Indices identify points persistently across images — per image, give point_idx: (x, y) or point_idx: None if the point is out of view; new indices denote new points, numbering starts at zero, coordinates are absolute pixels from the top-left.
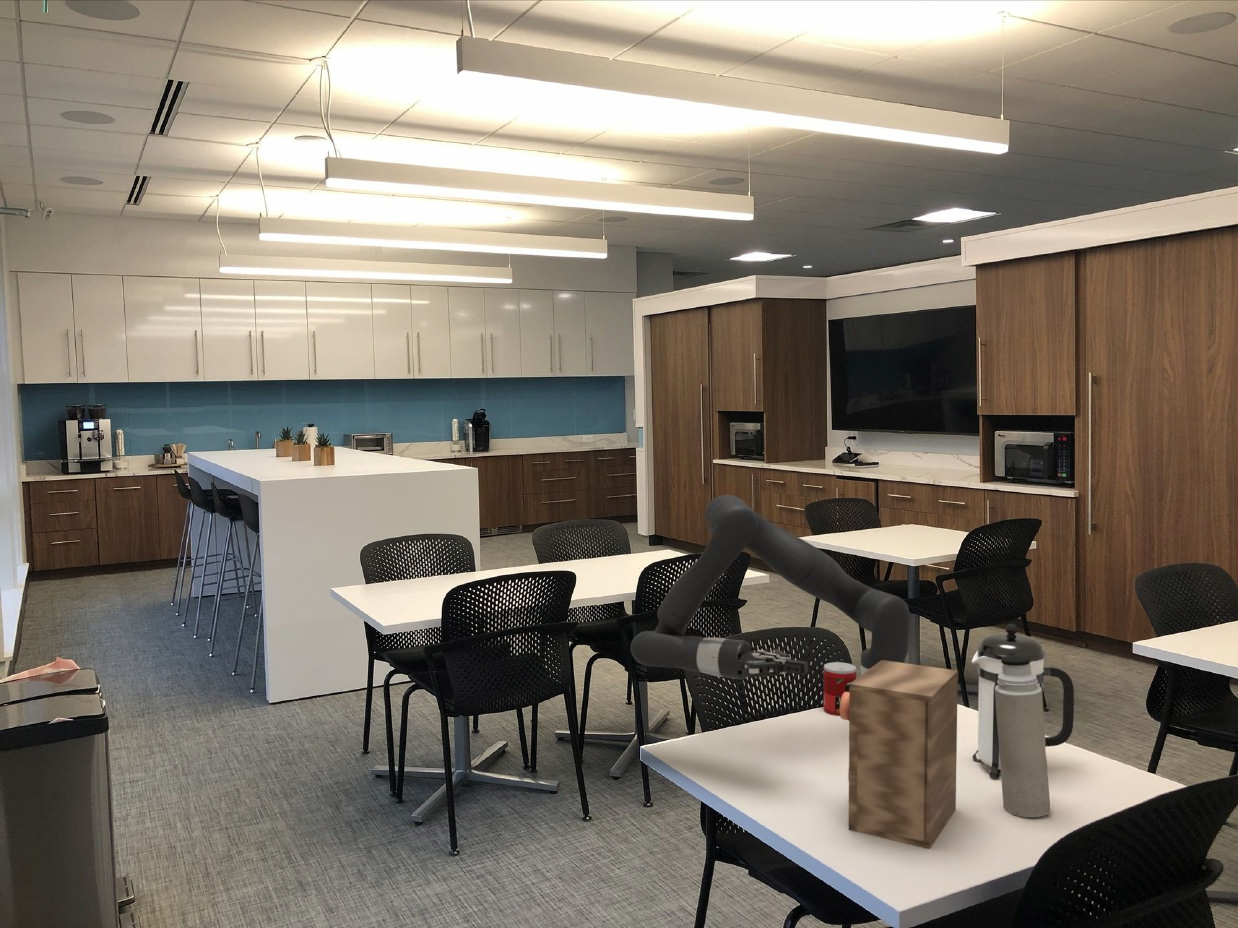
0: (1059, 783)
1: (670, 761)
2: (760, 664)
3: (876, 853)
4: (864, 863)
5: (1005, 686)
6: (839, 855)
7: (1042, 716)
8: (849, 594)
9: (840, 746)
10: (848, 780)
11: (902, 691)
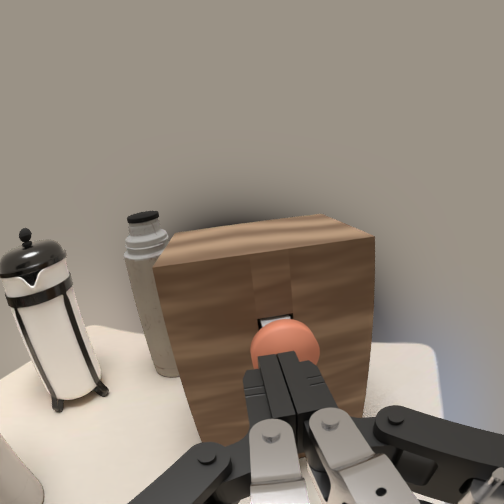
0: (103, 360)
1: None
2: (495, 433)
3: (379, 397)
4: (406, 390)
5: (164, 243)
6: (417, 409)
7: None
8: None
9: None
10: None
11: (332, 220)
